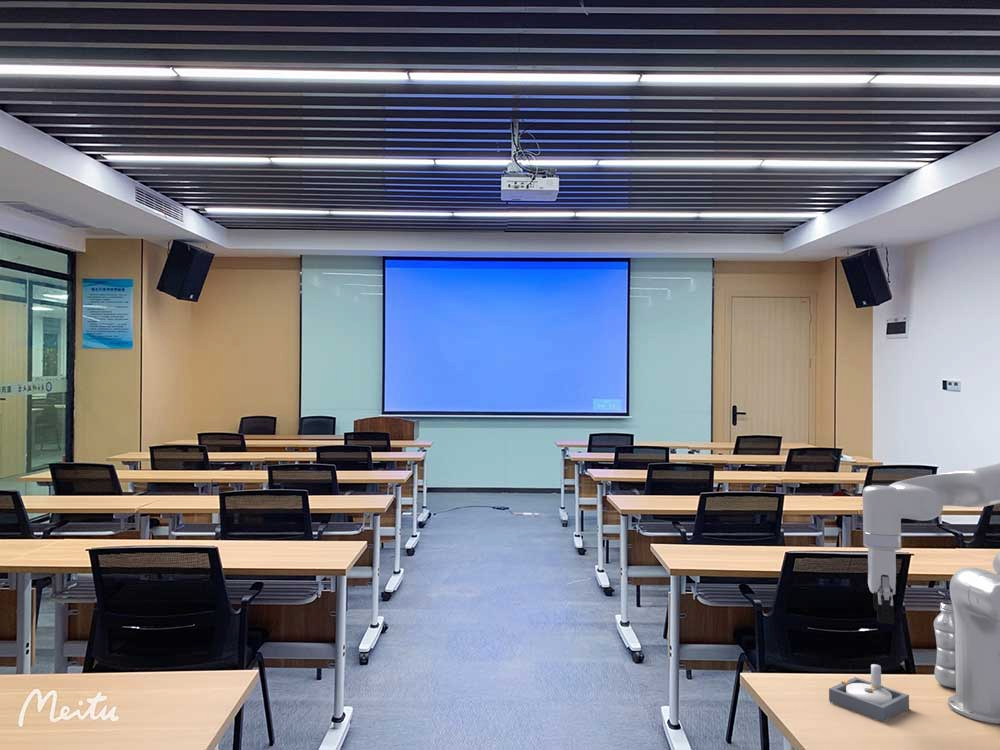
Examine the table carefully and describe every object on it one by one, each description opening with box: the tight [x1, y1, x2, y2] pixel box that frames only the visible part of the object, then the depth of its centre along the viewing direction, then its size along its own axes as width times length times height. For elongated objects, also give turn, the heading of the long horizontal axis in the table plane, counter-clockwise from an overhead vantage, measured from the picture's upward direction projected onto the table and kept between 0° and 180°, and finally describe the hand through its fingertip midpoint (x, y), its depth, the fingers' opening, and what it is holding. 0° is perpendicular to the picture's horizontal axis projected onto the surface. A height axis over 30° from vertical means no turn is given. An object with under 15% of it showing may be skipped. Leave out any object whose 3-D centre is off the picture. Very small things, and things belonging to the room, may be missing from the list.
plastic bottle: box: [933, 601, 956, 689], centre depth 166 cm, size 6×7×20 cm
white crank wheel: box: [846, 663, 892, 705], centre depth 154 cm, size 9×9×7 cm
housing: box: [828, 677, 910, 723], centre depth 154 cm, size 12×12×4 cm
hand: (883, 616), depth 153 cm, fingers open, 9 cm apart
